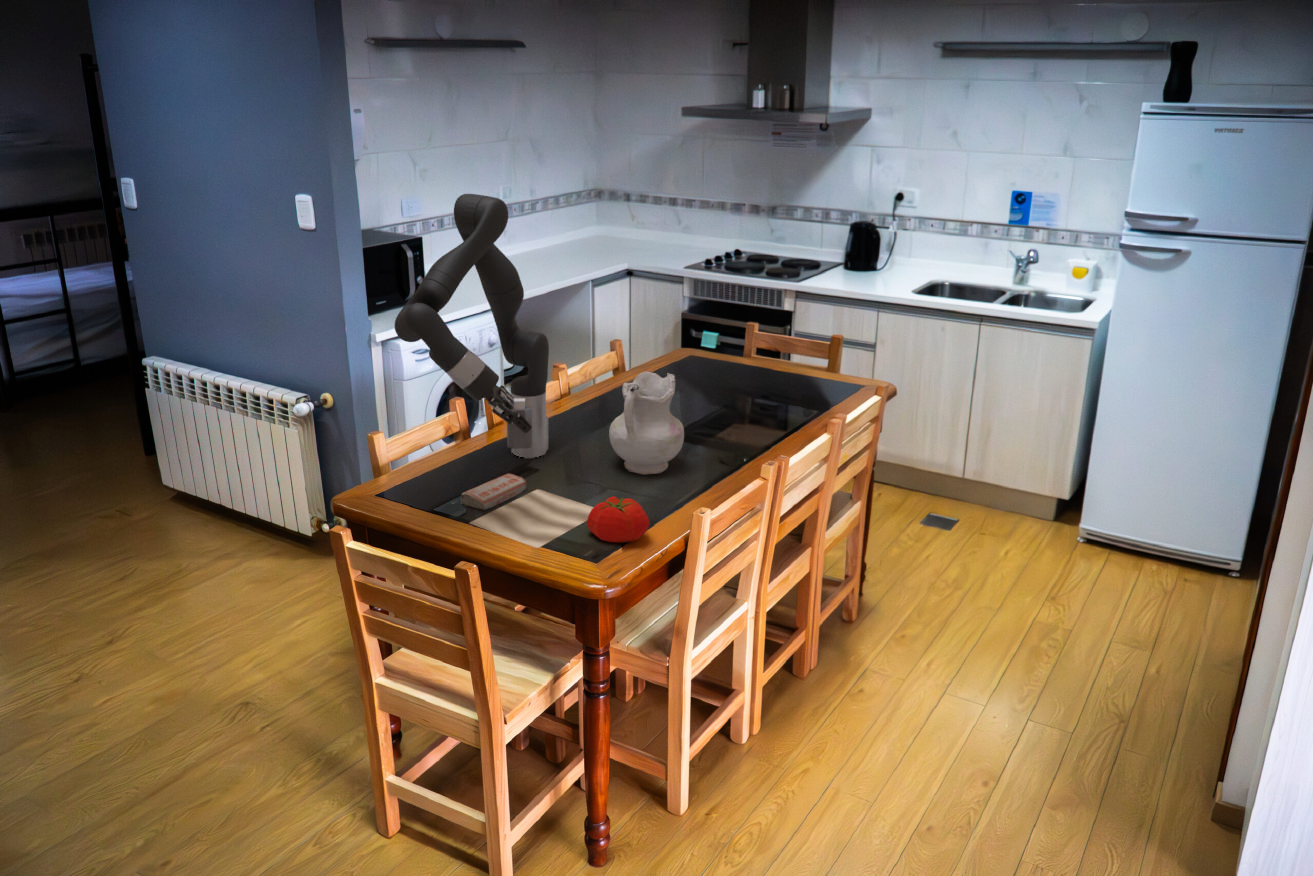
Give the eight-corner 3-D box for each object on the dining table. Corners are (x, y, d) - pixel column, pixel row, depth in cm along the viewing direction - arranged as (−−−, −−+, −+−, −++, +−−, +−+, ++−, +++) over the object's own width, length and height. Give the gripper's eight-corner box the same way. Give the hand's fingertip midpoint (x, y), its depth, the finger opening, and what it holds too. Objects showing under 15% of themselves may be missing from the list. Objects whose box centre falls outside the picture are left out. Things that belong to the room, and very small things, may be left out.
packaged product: (503, 468, 247) (534, 478, 242) (503, 486, 249) (534, 497, 244) (449, 491, 233) (481, 502, 228) (450, 510, 235) (481, 522, 230)
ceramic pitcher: (670, 491, 251) (682, 398, 242) (595, 477, 254) (604, 384, 245) (685, 460, 271) (697, 373, 262) (615, 447, 274) (624, 360, 265)
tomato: (648, 525, 230) (649, 490, 227) (649, 550, 219) (650, 513, 216) (587, 524, 230) (588, 488, 227) (585, 549, 218) (586, 512, 215)
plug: (507, 443, 227) (506, 397, 223) (532, 443, 228) (532, 397, 224) (507, 448, 225) (506, 402, 221) (532, 448, 225) (532, 402, 221)
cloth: (537, 493, 244) (537, 488, 244) (604, 515, 234) (604, 510, 234) (468, 527, 226) (468, 523, 225) (537, 553, 215) (537, 548, 215)
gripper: (482, 373, 212) (541, 427, 218) (485, 354, 225) (540, 405, 231) (458, 396, 213) (516, 450, 219) (462, 376, 226) (517, 427, 232)
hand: (528, 427), depth 225 cm, fingers closed on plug, 3 cm apart
